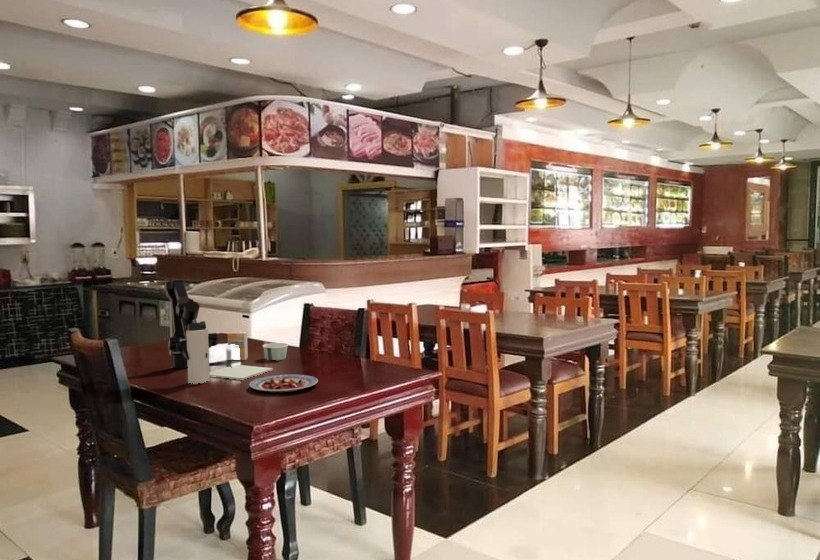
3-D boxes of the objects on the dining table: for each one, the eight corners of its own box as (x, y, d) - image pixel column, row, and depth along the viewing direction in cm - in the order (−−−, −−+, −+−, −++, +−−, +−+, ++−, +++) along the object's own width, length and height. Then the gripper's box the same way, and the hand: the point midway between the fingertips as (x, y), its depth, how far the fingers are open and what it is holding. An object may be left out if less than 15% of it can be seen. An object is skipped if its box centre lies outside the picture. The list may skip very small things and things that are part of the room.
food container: (283, 361, 286) (282, 347, 286) (258, 361, 288) (258, 347, 288) (292, 356, 298) (291, 343, 298) (268, 356, 300) (268, 342, 299)
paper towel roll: (184, 384, 244) (182, 330, 242) (194, 380, 249) (192, 328, 248) (200, 385, 242) (198, 331, 240) (209, 381, 247) (208, 328, 246)
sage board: (204, 376, 257) (203, 373, 257) (236, 366, 275) (236, 364, 275) (242, 380, 249) (242, 378, 249) (272, 370, 267) (272, 368, 267)
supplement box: (227, 360, 289) (226, 333, 288) (231, 358, 294) (230, 331, 293) (245, 360, 289) (244, 333, 288) (248, 358, 293) (247, 331, 292)
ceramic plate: (250, 398, 222) (250, 390, 222) (248, 382, 246) (248, 375, 246) (322, 392, 229) (322, 384, 229) (313, 377, 254) (313, 370, 253)
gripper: (168, 316, 242) (174, 348, 233) (216, 313, 252) (224, 343, 243) (165, 334, 249) (171, 365, 241) (212, 329, 259) (220, 360, 250)
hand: (197, 358), depth 244 cm, fingers open, 7 cm apart
